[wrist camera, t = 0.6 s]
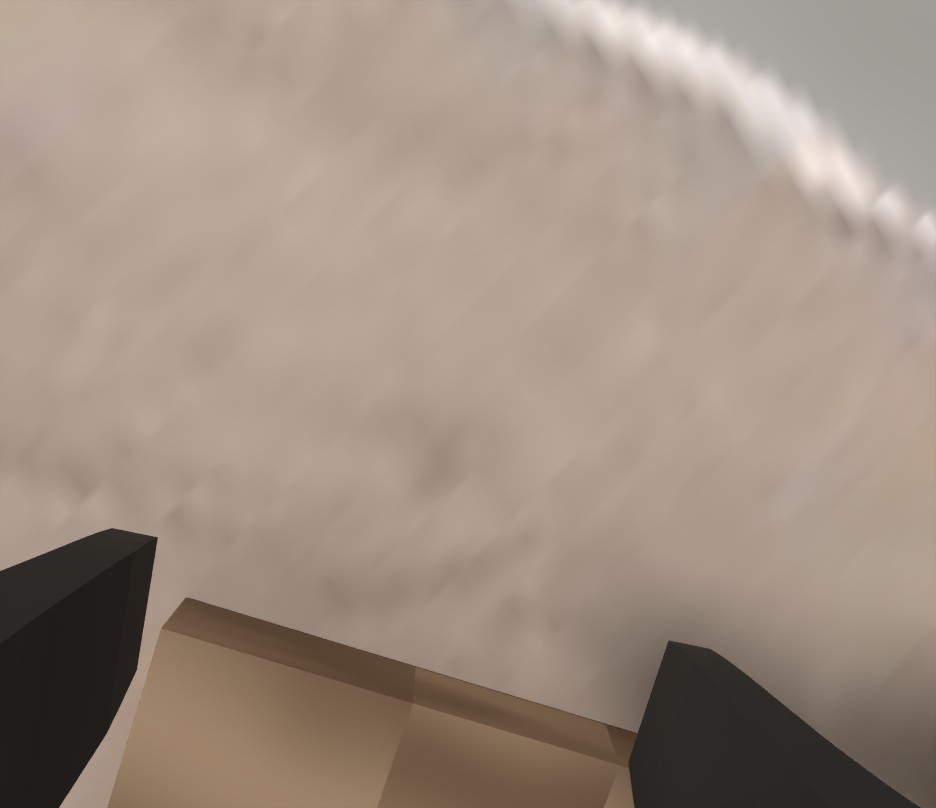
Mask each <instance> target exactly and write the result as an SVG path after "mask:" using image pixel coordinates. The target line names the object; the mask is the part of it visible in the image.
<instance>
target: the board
mask: <svg viewBox="0 0 936 808" xmlns="http://www.w3.org/2000/svg"><path fill="white" fill-rule="evenodd" d="M636 737H637V734H636V733H633V732H629V731H626V730H623V729H619V728H616V727H613V726H610V725H606V724H603V723H600V722H596V721H593V720H590V719H586V718H583V717H580V716H576V715H573V714H570V713H567V712H563V711H560V710H557V709H553V708H550V707H547V706H543V705H540V704H537V703H533V702H530V701H527V700H523V699H520V698H517V697H514V696H510V695H507V694H504V693H500V692H497V691H494V690H490V689H487V688H484V687H480V686H477V685H474V684H471V683H467V682H464V681H461V680H457V679H454V678H451V677H447V676H444V675H441V674H437V673H434V672H431V671H428V670H424V669H421V668H418V667H414V666H411V665H408V664H404V663H401V662H398V661H394V660H391V659H388V658H384V657H381V656H378V655H375V654H371V653H368V652H365V651H361V650H358V649H355V648H351V647H348V646H345V645H341V644H338V643H335V642H332V641H328V640H325V639H322V638H318V637H315V636H312V635H308V634H305V633H302V632H298V631H295V630H292V629H289V628H285V627H282V626H279V625H275V624H272V623H269V622H265V621H262V620H259V619H255V618H252V617H249V616H245V615H242V614H239V613H236V612H232V611H229V610H226V609H222V608H219V607H216V606H212V605H209V604H206V603H202V602H199V601H196V600H193V599H189V598H185V599H184V601H183V602H182V603H181V604H180V606H179V607H178V608H177V609H176V611H175V612H174V613H173V614H172V616H171V617H170V618H169V619H168V621H167V622H166V623H165V624H164V626H163V627H162V628H161V631H160V635H159V638H158V641H157V645H156V648H155V651H154V655H153V658H152V661H151V665H150V668H149V671H148V675H147V678H146V681H145V685H144V688H143V691H142V695H141V698H140V701H139V705H138V708H137V711H136V715H135V718H134V721H133V725H132V728H131V731H130V735H129V738H128V741H127V745H126V748H125V751H124V755H123V758H122V761H121V765H120V768H119V771H118V775H117V778H116V781H115V785H114V788H113V791H112V795H111V798H110V801H109V805H108V808H635V807H634V801H633V794H632V787H631V779H630V772H629V764H628V762H629V759H630V756H631V753H632V750H633V747H634V744H635V740H636Z"/></svg>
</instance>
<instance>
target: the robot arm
mask: <svg viewBox="0 0 936 808" xmlns="http://www.w3.org/2000/svg"><path fill="white" fill-rule="evenodd" d="M157 539H158V537H153V536H148V535H143V534H138V533H133V532H128V531H123V530H118V529H113V528H111V529H108V530H104V531H101V532H98V533H95V534H93V535H90V536H87V537H85V538H82V539H80V540H77V541H75V542H72V543H70V544H67V545H65V546H62V547H60V548H57V549H55V550H52V551H50V552H47V553H45V554H42V555H40V556H37V557H35V558H32V559H30V560H27V561H25V562H22V563H20V564H17V565H15V566H12V567H10V568H7V569H5V570H2V571H0V808H59V807H60V805H61V804H62V802H63V801H64V799H65V797H66V796H67V794H68V793H69V791H70V790H71V788H72V787H73V785H74V784H75V782H76V781H77V779H78V777H79V776H80V774H81V773H82V771H83V770H84V768H85V767H86V765H87V763H88V762H89V760H90V759H91V757H92V756H93V754H94V753H95V751H96V749H97V748H98V746H99V745H100V743H101V742H102V740H103V738H104V737H105V735H106V734H107V732H108V730H109V728H110V726H111V723H112V721H113V719H114V717H115V715H116V713H117V711H118V709H119V707H120V705H121V703H122V701H123V699H124V696H125V694H126V692H127V690H128V688H129V686H130V683H131V681H132V679H133V677H134V675H135V673H136V670H137V665H138V659H139V652H140V646H141V640H142V633H143V627H144V621H145V615H146V608H147V602H148V596H149V589H150V583H151V577H152V570H153V564H154V558H155V551H156V545H157ZM628 764H629V772H630V779H631V787H632V794H633V801H634V807H635V808H920V807H919V806H917V805H916V804H914V803H912V802H911V801H910V800H908V799H907V798H905V797H904V796H902V795H901V794H899V793H898V792H896V791H895V790H894V789H892V788H891V787H889V786H888V785H886V784H885V783H884V782H882V781H881V780H880V779H878V778H877V777H876V776H874V775H873V774H872V773H870V772H869V771H867V770H866V769H865V768H863V767H862V766H861V765H859V764H858V763H857V762H855V761H854V760H853V759H851V758H850V757H848V756H847V755H846V754H845V753H843V752H842V751H841V750H839V749H838V748H837V747H836V746H834V745H833V744H832V743H830V742H829V741H828V740H827V739H825V738H824V737H823V736H821V735H820V734H819V733H818V732H816V731H815V730H814V729H813V728H811V727H810V726H809V725H808V724H806V723H805V722H804V721H803V720H802V719H800V718H799V717H798V716H797V715H795V714H794V713H793V712H792V711H790V710H789V709H788V708H787V707H786V706H784V705H783V704H782V703H781V702H779V701H778V700H777V699H776V698H775V697H773V696H772V695H771V694H770V693H768V692H767V691H766V690H765V689H764V688H762V687H761V686H760V685H759V684H757V683H756V682H755V681H754V680H752V679H751V678H750V677H749V676H747V675H746V674H745V673H744V672H742V671H741V670H740V669H738V668H737V667H736V666H734V665H733V664H732V663H730V662H729V661H728V660H726V659H725V658H723V657H722V656H720V655H719V654H717V653H716V652H714V651H712V650H711V649H707V648H702V647H697V646H692V645H688V644H683V643H678V642H673V641H668V644H667V647H666V650H665V653H664V656H663V659H662V662H661V665H660V668H659V671H658V674H657V677H656V680H655V683H654V686H653V689H652V692H651V695H650V698H649V701H648V704H647V707H646V710H645V713H644V716H643V719H642V722H641V725H640V728H639V731H638V734H637V737H636V740H635V744H634V747H633V750H632V753H631V756H630V759H629V762H628Z"/></svg>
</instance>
